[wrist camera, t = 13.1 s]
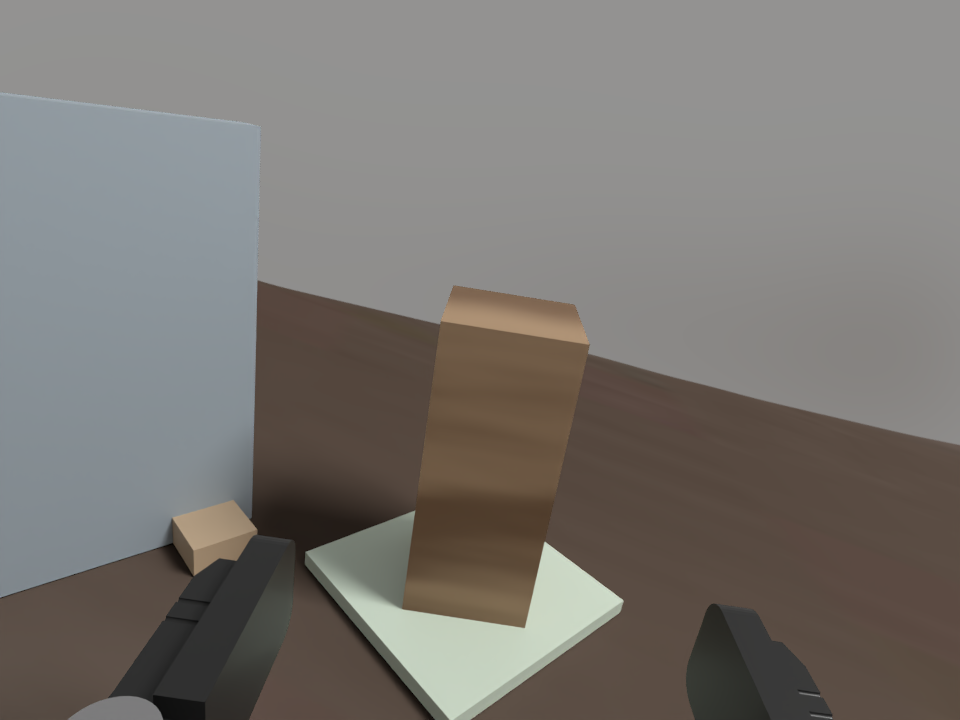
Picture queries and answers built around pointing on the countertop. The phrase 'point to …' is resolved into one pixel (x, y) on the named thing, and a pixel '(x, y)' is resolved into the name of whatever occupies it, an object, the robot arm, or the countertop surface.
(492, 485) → the brown wooden block
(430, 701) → the mat
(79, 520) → the screen
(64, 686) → the countertop surface
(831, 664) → the countertop surface
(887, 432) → the countertop surface
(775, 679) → the robot arm
